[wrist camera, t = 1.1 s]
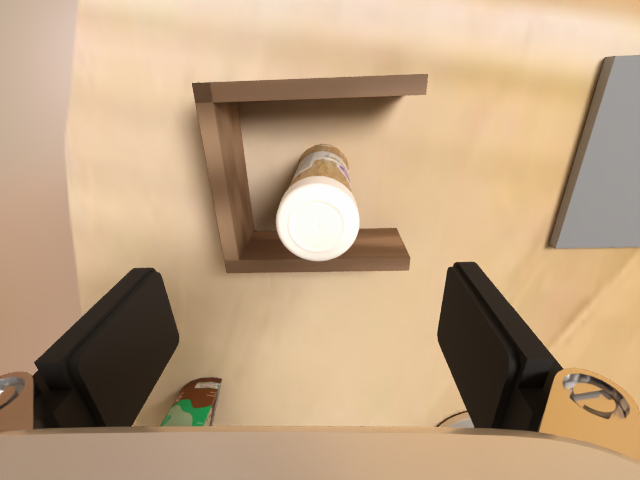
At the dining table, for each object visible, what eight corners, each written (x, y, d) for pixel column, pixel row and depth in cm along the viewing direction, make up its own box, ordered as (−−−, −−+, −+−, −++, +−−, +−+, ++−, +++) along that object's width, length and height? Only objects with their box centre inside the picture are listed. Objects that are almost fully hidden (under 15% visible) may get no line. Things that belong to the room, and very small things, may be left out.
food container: (174, 359, 40) (128, 439, 31) (223, 370, 40) (193, 452, 31) (167, 422, 45) (126, 506, 36) (211, 431, 46) (181, 516, 37)
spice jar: (358, 168, 29) (378, 227, 17) (323, 202, 31) (318, 278, 18) (322, 131, 28) (316, 165, 16) (287, 168, 29) (256, 226, 17)
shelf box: (395, 239, 32) (408, 270, 27) (244, 242, 33) (226, 272, 27) (407, 76, 26) (428, 73, 20) (220, 83, 26) (191, 83, 21)
